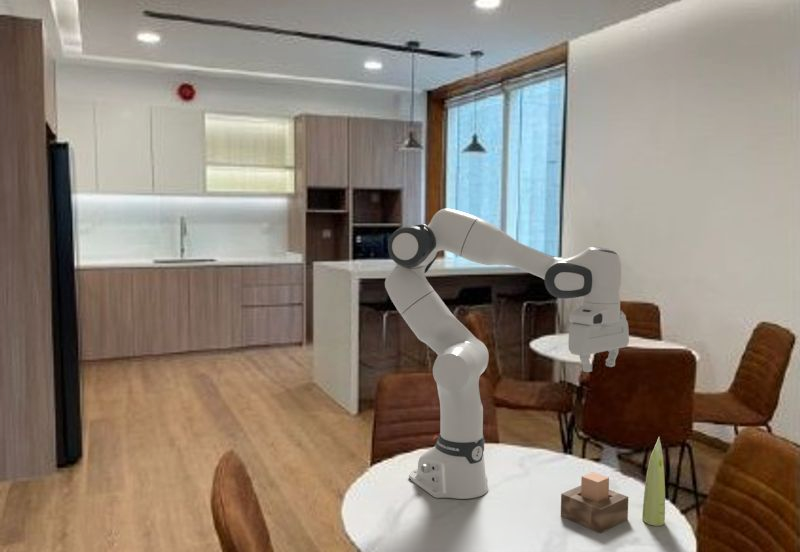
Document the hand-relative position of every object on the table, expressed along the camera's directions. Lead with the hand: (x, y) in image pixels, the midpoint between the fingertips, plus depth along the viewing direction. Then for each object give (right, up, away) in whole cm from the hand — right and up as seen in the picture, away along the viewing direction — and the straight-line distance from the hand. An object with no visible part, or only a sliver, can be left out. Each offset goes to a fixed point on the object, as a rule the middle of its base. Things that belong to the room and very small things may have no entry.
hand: (599, 368), depth 162 cm
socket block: (-3, -35, -6) cm, 35 cm away
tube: (+10, -35, -8) cm, 37 cm away
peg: (-3, -34, -6) cm, 34 cm away
